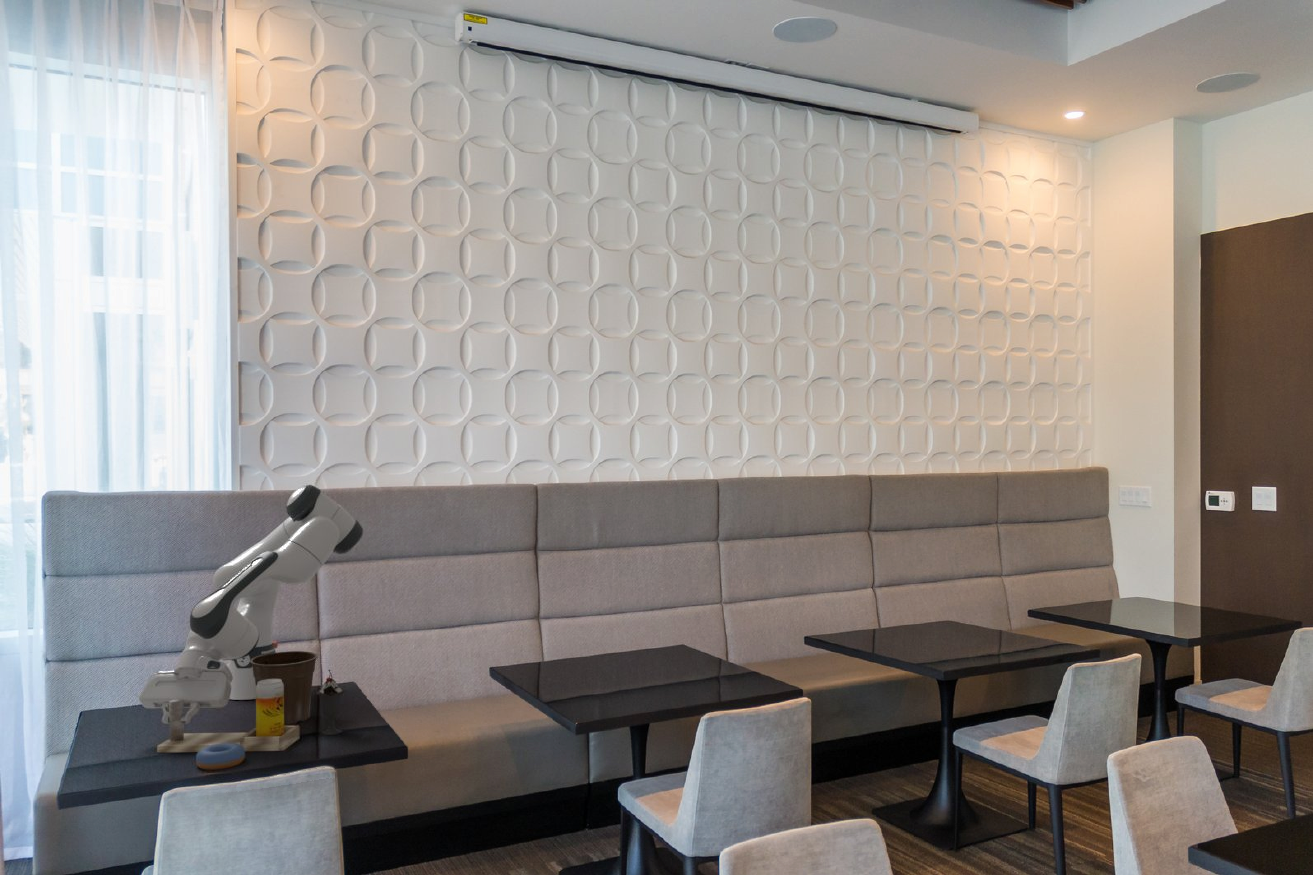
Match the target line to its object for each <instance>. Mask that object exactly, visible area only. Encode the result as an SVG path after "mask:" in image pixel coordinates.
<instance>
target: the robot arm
mask: <svg viewBox="0 0 1313 875" xmlns="http://www.w3.org/2000/svg"><path fill="white" fill-rule="evenodd" d="M285 509H286V510H285V512H286V513H287V514H288V516H289V517H287V518H286V519H285V520H284V521H283V522H281V524H279V525H278V526H277V527H276V528H275V529H273V530H272V531H271V532H270V533H269V534H268V535H267V536H265V537H264V538H262V539H261V540H260V541H259V542H257V543H255V544H254V545H252V546H250V547H249V548H248V549H246V550H244V551H243V552H242V553H240V554H239V555H238V556H236V557H235V558H233V559H232V560H230V561H229V562H227V563H225V564H223V565H221V566H220V567H219V568H218V569H216V571H215V573H214V576H213V581H212V582H213V588H214V590H215V591H213V592H211V593H210V594H208V595H207V596H206V597H204V598H203V599H201V600H200V601H198V602H197V603H196V604H195V605H194V606H193V608H192V610H191V611H190V612H191V613H190V616H189V628H190V630H189V632H188V635H187V638H186V640H185V647H184V649H183V650H182V652H181V653H180V655H179V657H178V661H177V662H176V664H175V667H174V670H169V671H163V670H160V671H156V673H153V674H151V675H150V676H149V678H148V680H147V681H146V684H145V686H144V687H143V689H142V691H141V693H140V694H139V697H138V698H139V703H141V705H142V706H143V707H144V708H145V709H161V710H162V713H163V715H162V718H161V722H162V723H163V724H165V725H167V724H168V725H169V701H172V700H177V699H182V700H183V709H189V710H187V712H186V713H185V712H184V714H182V717H181V722H182V723H184V724H190V722H191V719H192V718H193V717H194V716H195V715H196V714H197V713H198V712H199V711H200V710H201V708H204V709H205V708H206V709H207V708H224V707H225V706H226V705H228V703H229V701H230V700H233V701H234V700H239V701H244V700H246V701H247V700H256V684H255V677H254V676H253V667H252V664H251V663H250V660H251V659H252V658H254V657H257V656H260V655H264V654H270V653H277V652H276V649H277V648H278V647H279V644H278V643H279V642H278V641H273V637H274V636H273V629H274V628H273V625H274V623H273V622H274V611H275V606H276V602H277V598H278V596H279V592H280V589H281V588H282V586H283V584H286V585H293V586H294V585H295V586H296V585H302V584H306V583H307V582H309V581H310V580H311V579H313V577H314V576H315V575H316V574H317V573H318V572H319V570H320V569H321V568H322V567H323V565H324V564H325V563H326V562H327V561H328V559H329V558H330V556H331V555H332V553H336V554H338V555H345V554H347V553H348V552H350V551H351V550H353V549H355V547H357V545H358V544H360V541H361V538H362V537H363V534H364V528H363V526H362V525H361V523H360V522H359V521H358V520H357V519H355V518H354V517H353V516H352V515H351V514H350V513H349V512H348V511H347V510H346V509H345V508H344V507H343V506H342V505H341V504H338V502H336V501H335V500H334V499H332V498H331V496H328V495H327V494H325V493H324V492H322V491H321V489H320V488H319V487H316V486H314V485H312V484H306V485H304V486H302V487H300V488H298V489H296V490H295V491H294V492H292V494H291V495H290V497H289V498H288V500H287V503H286V505H285ZM238 601H239V602H238ZM237 602H238V605H237V608H235V606H236V603H237ZM220 660H222V661H220ZM223 661H229V662H228V663H227V664H226V662H223Z"/></svg>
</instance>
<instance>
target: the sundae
mask: <svg viewBox="0 0 1313 875" xmlns="http://www.w3.org/2000/svg"><path fill="white" fill-rule="evenodd" d="M328 672H329V673H330V675H329V676H328V677H326V681H325V682H323V685H322V688H321V689H319V690H318V691H317V692H316V695H318V696H319V699H320V702H321V705H320V706H321V711H322V715H323V716H324V717H326V718H327V719H328V727H327V729H326V730H322V731H321V732H320V734H322V735H325V736H333V735H337V734H340V733H342V732H343V730H342V729H338V728H337V727H336V726H335V719H336V718H337V716H338V715H339V714H340V712H341V709H342V708H341V706H342V699H343V695H344V694H345V693H346V689H345V688H343V687H339V685H338V683H337V682H336V680H335V679H334V678H333V676H332V675H333V674H332V673H331V669H328Z"/></svg>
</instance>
